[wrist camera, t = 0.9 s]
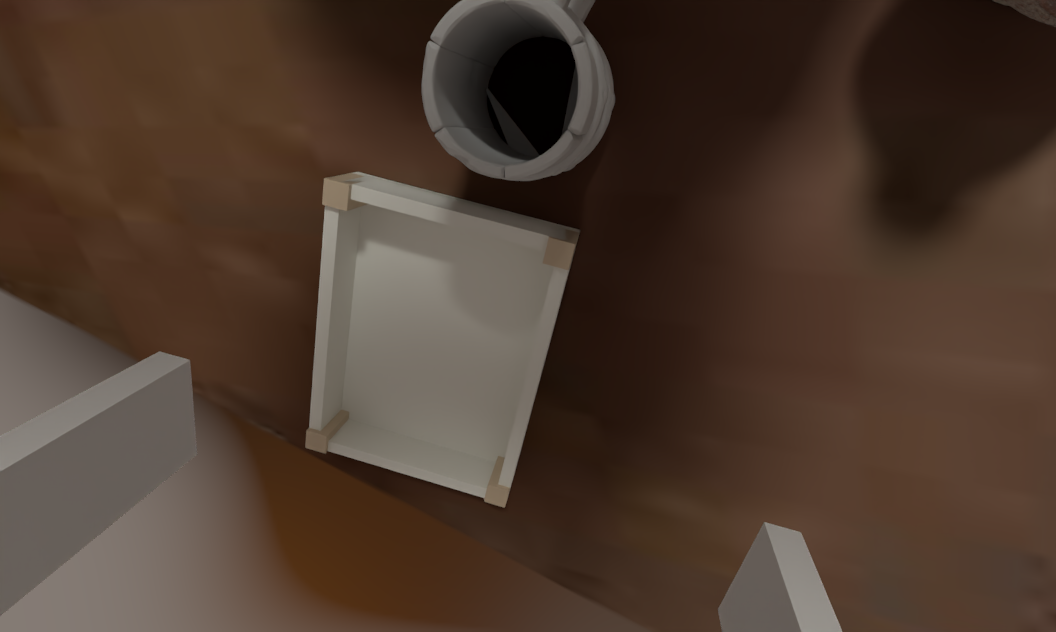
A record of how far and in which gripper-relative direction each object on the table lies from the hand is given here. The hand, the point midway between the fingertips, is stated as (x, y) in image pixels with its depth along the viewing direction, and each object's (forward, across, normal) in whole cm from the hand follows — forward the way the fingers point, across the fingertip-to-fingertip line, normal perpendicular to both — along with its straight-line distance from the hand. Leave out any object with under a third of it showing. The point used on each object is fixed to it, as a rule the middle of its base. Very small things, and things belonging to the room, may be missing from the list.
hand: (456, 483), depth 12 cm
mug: (+21, -2, +10) cm, 23 cm away
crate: (+20, -6, -7) cm, 22 cm away
